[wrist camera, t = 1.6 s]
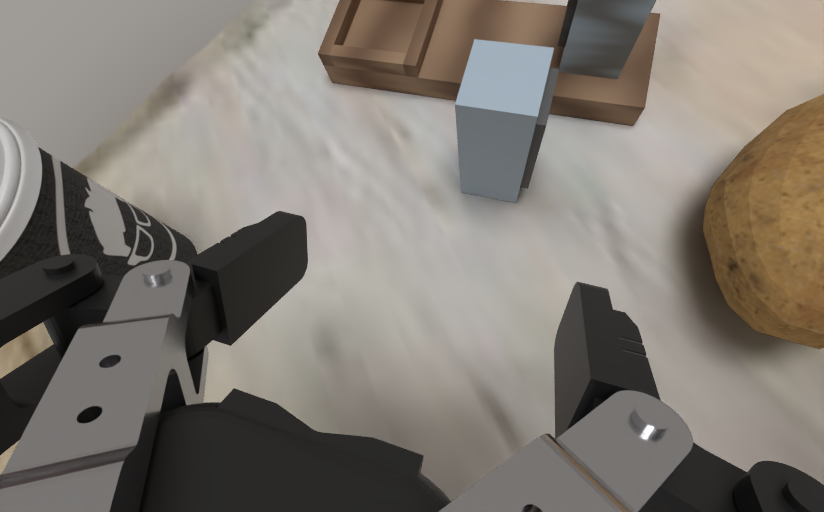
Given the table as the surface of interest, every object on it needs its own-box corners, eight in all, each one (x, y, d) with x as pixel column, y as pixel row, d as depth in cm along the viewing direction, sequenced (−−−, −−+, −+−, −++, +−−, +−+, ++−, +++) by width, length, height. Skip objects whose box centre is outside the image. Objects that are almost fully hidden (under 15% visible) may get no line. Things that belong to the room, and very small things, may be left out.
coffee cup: (146, 200, 33) (-103, 70, 19) (237, 236, 31) (31, 119, 16) (84, 305, 31) (-248, 249, 17) (175, 352, 29) (-120, 334, 14)
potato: (638, 308, 25) (710, 280, 17) (714, 129, 27) (806, 36, 20) (813, 388, 22) (990, 397, 14) (880, 182, 25) (1061, 98, 17)
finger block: (534, 155, 29) (564, 49, 19) (523, 204, 28) (548, 118, 18) (474, 145, 30) (474, 39, 20) (461, 192, 29) (454, 104, 19)
